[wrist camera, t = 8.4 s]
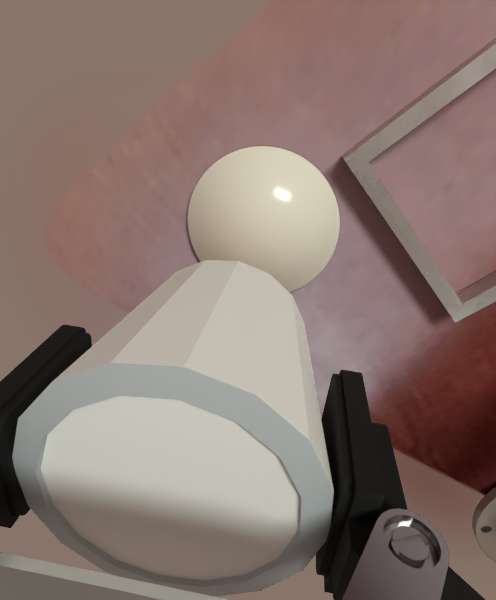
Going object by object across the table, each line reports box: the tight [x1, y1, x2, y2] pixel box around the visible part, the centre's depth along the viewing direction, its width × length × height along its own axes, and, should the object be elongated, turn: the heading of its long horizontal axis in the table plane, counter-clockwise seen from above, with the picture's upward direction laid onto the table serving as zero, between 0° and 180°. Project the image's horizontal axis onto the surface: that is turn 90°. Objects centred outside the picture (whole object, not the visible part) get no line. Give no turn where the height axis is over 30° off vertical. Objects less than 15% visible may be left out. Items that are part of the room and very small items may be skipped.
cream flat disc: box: [188, 146, 340, 292], centre depth 27 cm, size 10×10×1 cm
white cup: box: [12, 260, 334, 597], centre depth 12 cm, size 7×7×7 cm
